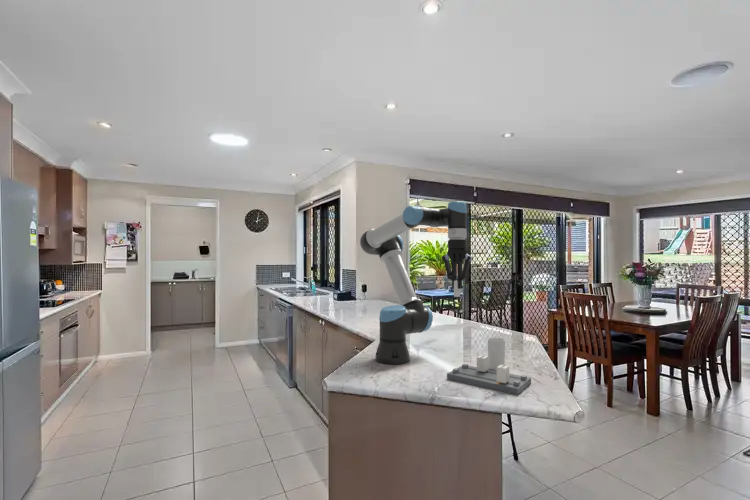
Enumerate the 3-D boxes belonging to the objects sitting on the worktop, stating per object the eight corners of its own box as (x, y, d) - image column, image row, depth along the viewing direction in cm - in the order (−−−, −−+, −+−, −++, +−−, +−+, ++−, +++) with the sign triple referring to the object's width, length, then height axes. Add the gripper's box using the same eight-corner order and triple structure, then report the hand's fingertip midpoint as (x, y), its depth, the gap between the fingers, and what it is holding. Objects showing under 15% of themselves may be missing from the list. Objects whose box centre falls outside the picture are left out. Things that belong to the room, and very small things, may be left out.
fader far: (476, 370, 143) (476, 357, 143) (480, 368, 146) (480, 354, 147) (484, 372, 141) (484, 358, 142) (488, 369, 145) (488, 356, 145)
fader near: (496, 381, 130) (496, 366, 131) (500, 378, 134) (500, 364, 134) (505, 383, 129) (505, 368, 129) (509, 380, 132) (509, 365, 132)
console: (446, 378, 140) (446, 370, 141) (464, 369, 152) (464, 361, 152) (517, 394, 124) (517, 385, 125) (531, 383, 136) (531, 374, 136)
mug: (505, 371, 150) (505, 341, 150) (487, 370, 152) (487, 340, 152) (504, 365, 160) (504, 336, 160) (488, 363, 162) (488, 335, 162)
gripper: (438, 239, 156) (438, 296, 155) (468, 238, 148) (468, 298, 147) (447, 240, 162) (446, 294, 161) (475, 239, 154) (475, 297, 153)
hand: (457, 296), depth 154 cm, fingers closed
